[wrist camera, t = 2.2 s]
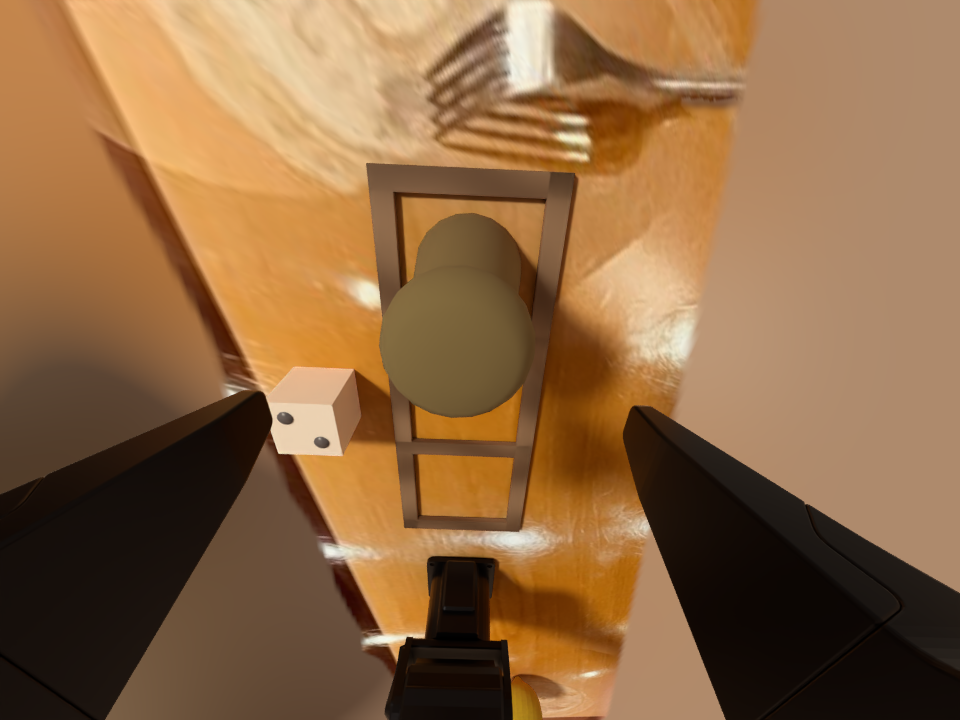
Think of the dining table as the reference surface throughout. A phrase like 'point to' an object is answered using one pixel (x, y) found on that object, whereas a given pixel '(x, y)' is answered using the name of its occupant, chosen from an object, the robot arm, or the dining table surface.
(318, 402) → the die
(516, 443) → the three-pane window frame
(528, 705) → the lemon
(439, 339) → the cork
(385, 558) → the dining table surface
